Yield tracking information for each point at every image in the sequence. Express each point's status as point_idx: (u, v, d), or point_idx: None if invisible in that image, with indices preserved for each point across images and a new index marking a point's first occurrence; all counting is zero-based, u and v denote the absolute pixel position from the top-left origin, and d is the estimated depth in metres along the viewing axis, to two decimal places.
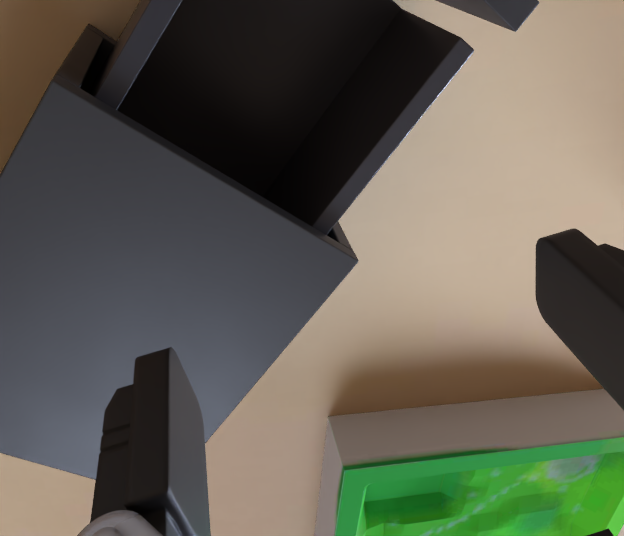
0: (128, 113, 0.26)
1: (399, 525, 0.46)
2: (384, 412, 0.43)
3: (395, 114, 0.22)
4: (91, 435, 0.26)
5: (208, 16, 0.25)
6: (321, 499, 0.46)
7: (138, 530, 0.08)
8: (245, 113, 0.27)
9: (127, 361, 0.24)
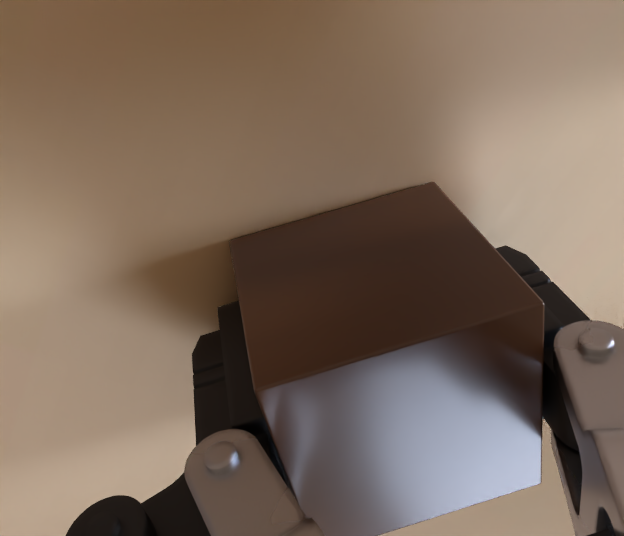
0: None
1: None
2: None
3: None
4: None
5: None
6: None
7: (250, 445, 0.09)
8: None
9: None
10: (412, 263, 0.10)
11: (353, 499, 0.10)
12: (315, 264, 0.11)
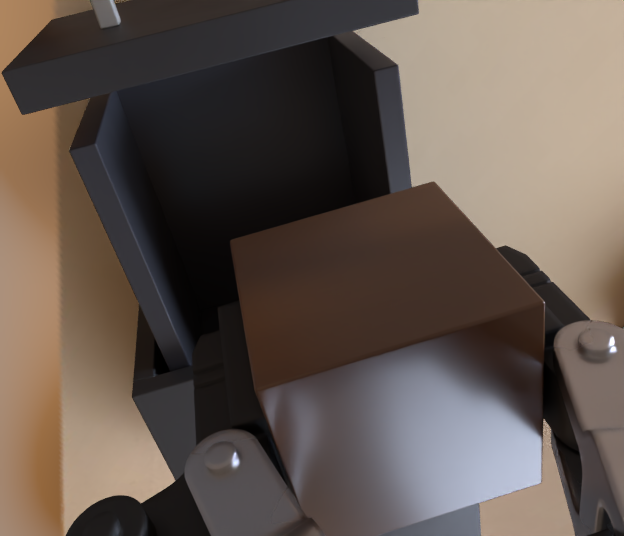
0: (218, 296, 0.28)
1: None
2: None
3: (384, 171, 0.20)
4: None
5: (198, 192, 0.25)
6: None
7: (250, 445, 0.09)
8: (291, 221, 0.27)
9: None
10: (413, 263, 0.10)
11: (353, 498, 0.10)
12: (315, 264, 0.11)
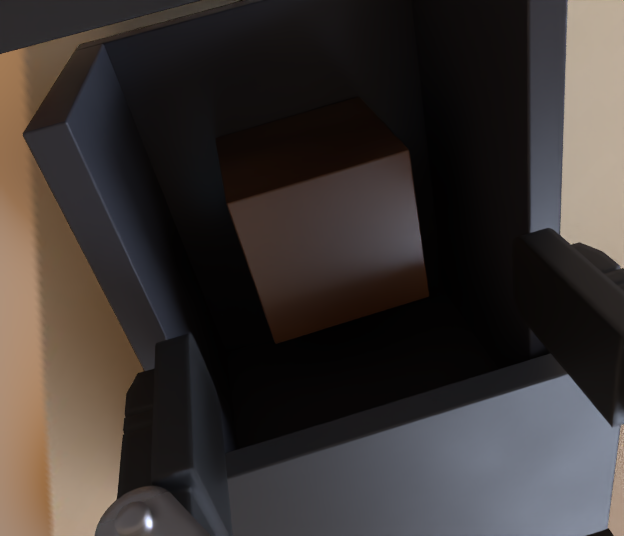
0: (249, 334, 0.21)
1: None
2: None
3: (521, 163, 0.13)
4: None
5: (224, 198, 0.18)
6: None
7: (166, 505, 0.08)
8: None
9: None
10: (334, 139, 0.15)
11: (297, 297, 0.15)
12: (271, 145, 0.16)
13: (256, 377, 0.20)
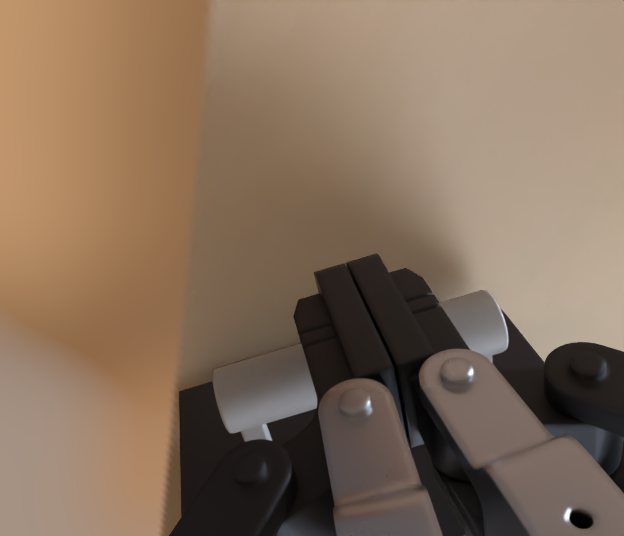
0: None
1: None
2: None
3: None
4: None
5: None
6: None
7: (381, 392, 0.09)
8: None
9: None
10: None
11: None
12: None
13: None
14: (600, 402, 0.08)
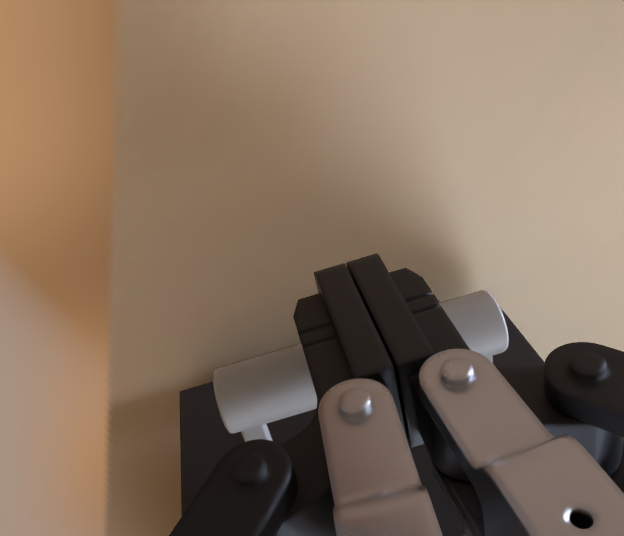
0: None
1: None
2: None
3: None
4: None
5: None
6: None
7: (381, 392, 0.09)
8: None
9: None
10: None
11: None
12: None
13: None
14: (600, 402, 0.08)
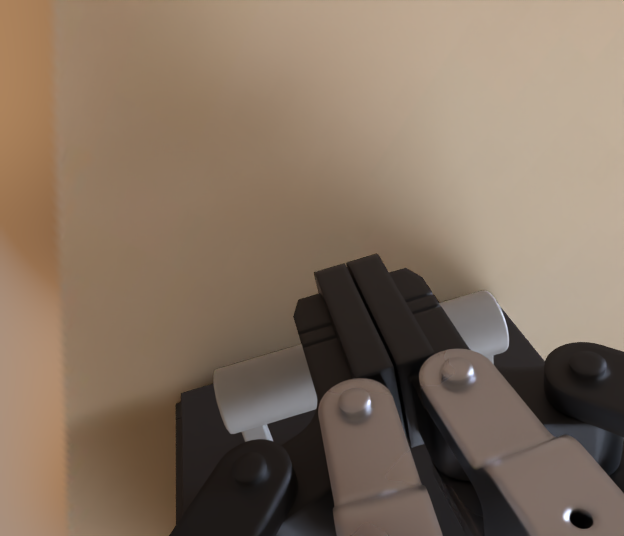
0: None
1: None
2: None
3: None
4: None
5: None
6: None
7: (381, 393, 0.09)
8: None
9: None
10: None
11: None
12: None
13: None
14: (600, 402, 0.08)
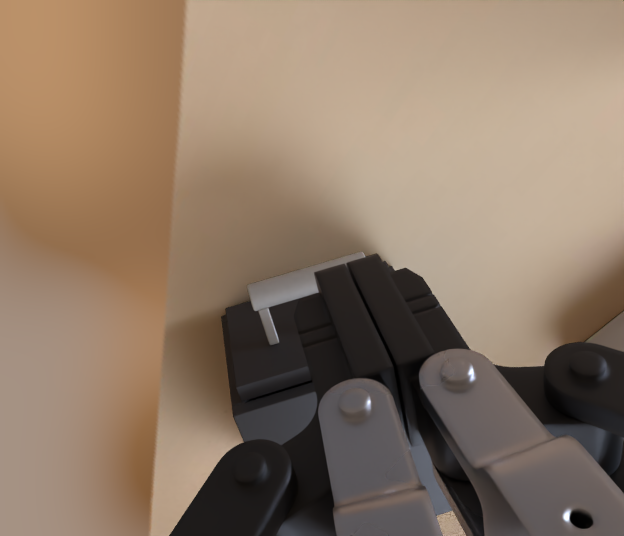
0: None
1: None
2: (609, 327, 0.49)
3: None
4: None
5: (298, 384, 0.43)
6: None
7: (381, 393, 0.09)
8: None
9: None
10: None
11: None
12: None
13: None
14: (600, 402, 0.08)
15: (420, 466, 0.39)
